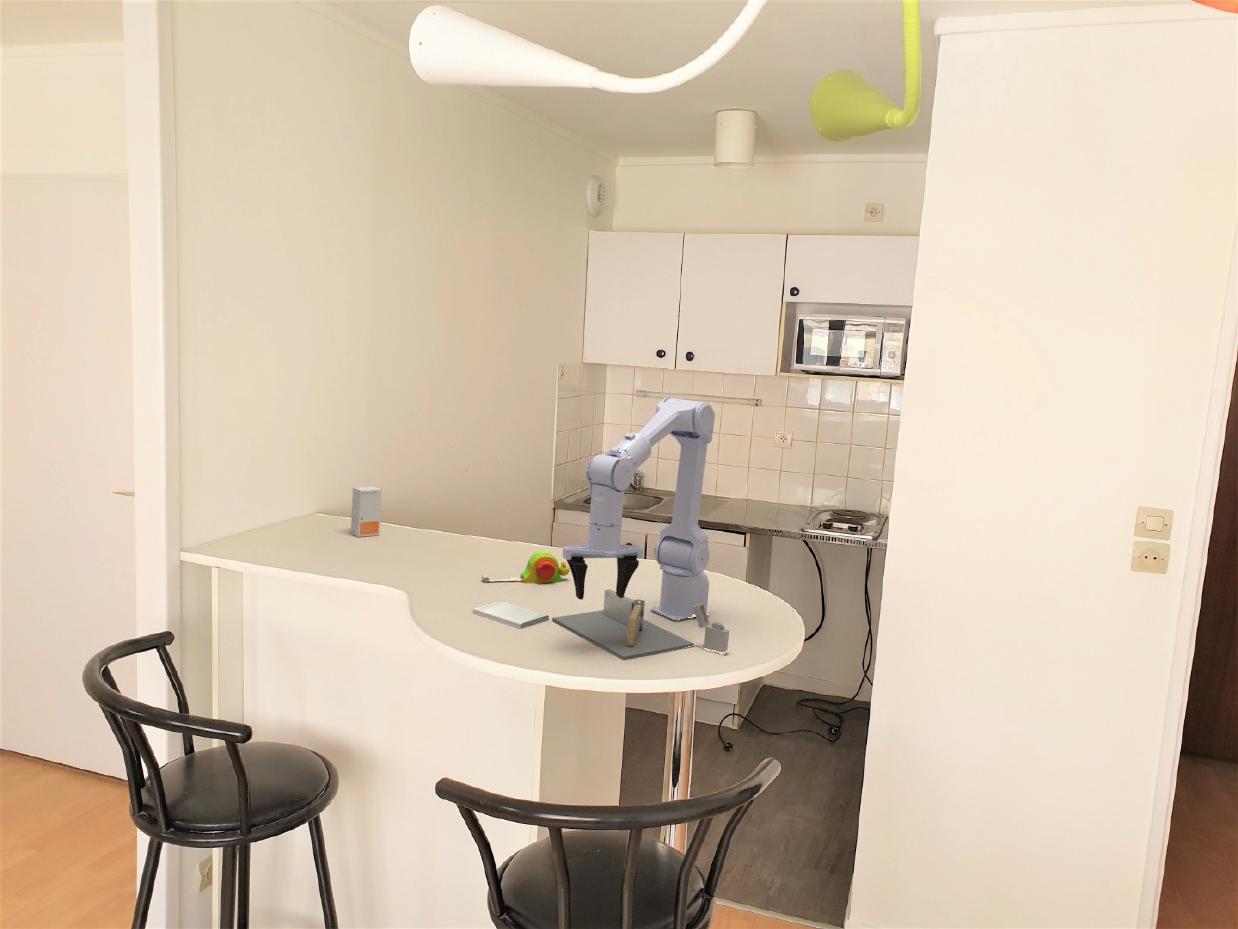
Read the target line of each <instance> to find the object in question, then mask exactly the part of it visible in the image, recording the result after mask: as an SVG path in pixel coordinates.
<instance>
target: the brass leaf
mask: <svg viewBox="0 0 1238 929" xmlns="http://www.w3.org/2000/svg"><path fill="white" fill-rule="evenodd" d="M633 600H634V608H633V610H632V613H631V615H630V617H629V625H628V637H627V645H630V646H634V643H635V641H636V638H637V636H638V633H639V630H640V618H641V617H642V616H643V617H644V616H645V604H646V603H645V600H643V599H633Z"/></svg>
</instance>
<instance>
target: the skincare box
mask: <svg viewBox="0 0 1238 929" xmlns="http://www.w3.org/2000/svg"><path fill="white" fill-rule="evenodd" d="M382 491H383V490H382V488H379V487H376V486H360V487H352V498H351V499H352V500H351V519H350V520H351V521H350V535H353V536H354V537H357V538H361V537H375V536H380V531H381V530H380V528H381V527H380V526H381V512H382V511H381V508H382Z"/></svg>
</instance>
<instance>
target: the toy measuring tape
mask: <svg viewBox="0 0 1238 929" xmlns="http://www.w3.org/2000/svg"><path fill="white" fill-rule="evenodd" d="M569 572H570V567H569V565H567V564H566V563H565V561H561V563H560V565H559V561H558V559H557V558H556V557H555V556H554V555H553V554H552V553H550V552H549V551H546V550H545V551H544V550H540V551H537V552H535V553H533V554H532V555H531V556H530V557H529V559H528V561H527V565H526V568H525V569H524V570H523V571H522V572H521V573H520V577H519V576H515V577H509V578H504V579H490V578H489V576H488V575H487V574H482V576H481V579H482V581H483V582H484V583H485V584H486V583H489V582H491V583H493V582H522V584H546V583H561V582H562V581H563V578H562V577H564V576H567V575H568V574H569Z"/></svg>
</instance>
